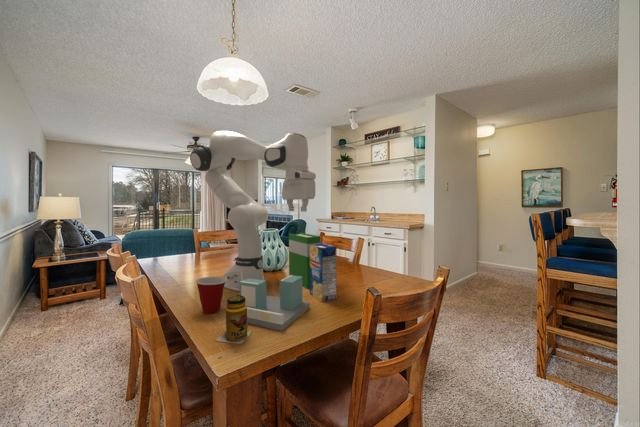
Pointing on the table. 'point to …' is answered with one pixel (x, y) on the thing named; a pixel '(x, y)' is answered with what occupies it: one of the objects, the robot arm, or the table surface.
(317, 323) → the table surface
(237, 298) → the condiment
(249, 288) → the carton
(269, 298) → the shelf board
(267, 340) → the table surface
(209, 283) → the plastic cup
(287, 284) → the carton
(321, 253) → the beverage box
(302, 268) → the hardback book
